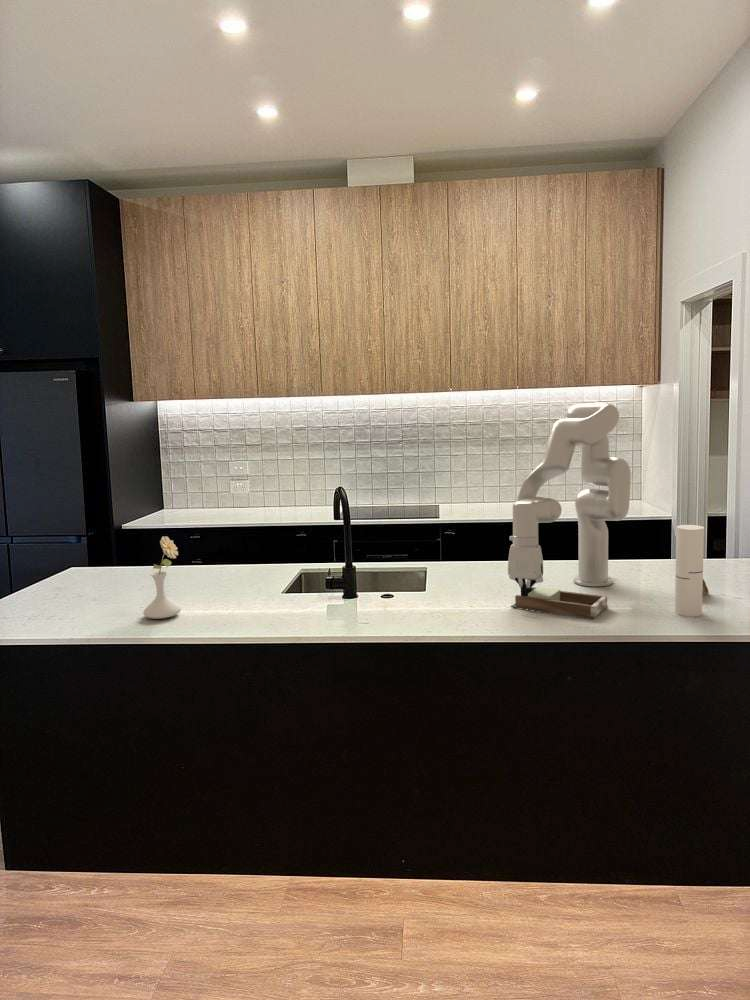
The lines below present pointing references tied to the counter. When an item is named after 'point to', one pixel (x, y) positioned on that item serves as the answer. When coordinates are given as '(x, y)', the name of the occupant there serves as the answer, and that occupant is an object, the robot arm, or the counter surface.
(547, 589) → the sage block
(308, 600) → the counter surface
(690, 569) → the cylindrical container
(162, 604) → the flower in vase
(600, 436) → the robot arm
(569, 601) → the brown wooden tray
